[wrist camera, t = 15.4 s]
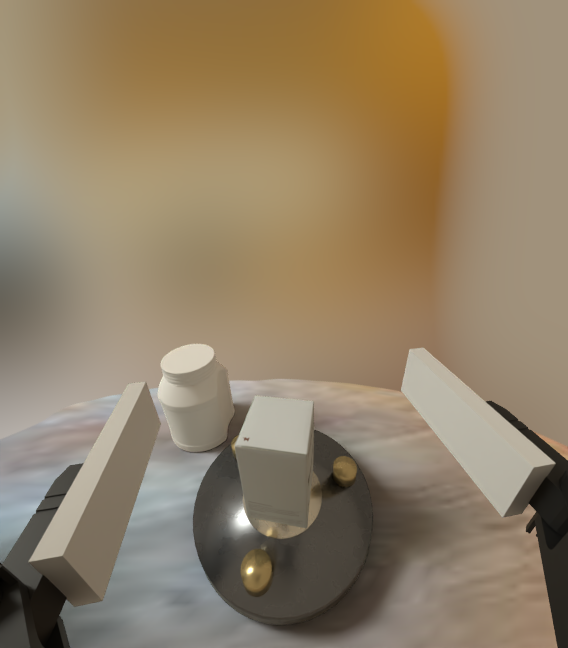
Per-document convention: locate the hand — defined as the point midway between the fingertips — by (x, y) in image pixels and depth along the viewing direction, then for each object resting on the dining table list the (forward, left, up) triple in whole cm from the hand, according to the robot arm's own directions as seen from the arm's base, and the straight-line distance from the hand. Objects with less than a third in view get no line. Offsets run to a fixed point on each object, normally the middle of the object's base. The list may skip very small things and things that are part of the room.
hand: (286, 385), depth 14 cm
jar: (-22, +19, -29) cm, 41 cm away
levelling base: (-4, +9, -29) cm, 31 cm away
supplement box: (-4, +9, -26) cm, 28 cm away
